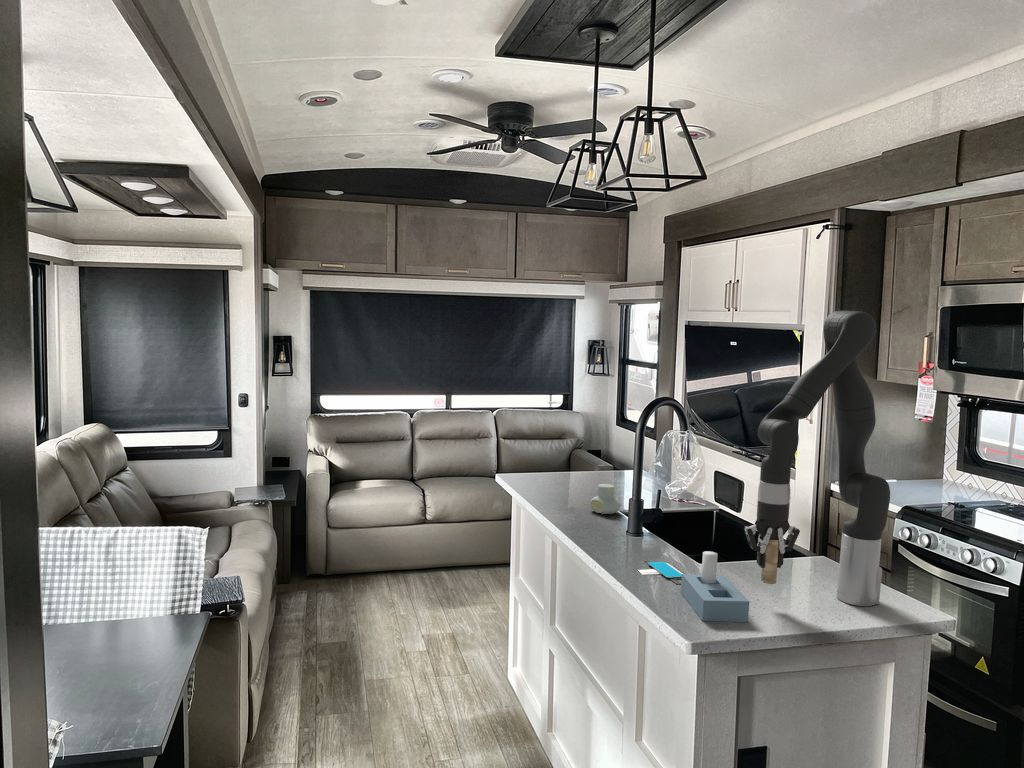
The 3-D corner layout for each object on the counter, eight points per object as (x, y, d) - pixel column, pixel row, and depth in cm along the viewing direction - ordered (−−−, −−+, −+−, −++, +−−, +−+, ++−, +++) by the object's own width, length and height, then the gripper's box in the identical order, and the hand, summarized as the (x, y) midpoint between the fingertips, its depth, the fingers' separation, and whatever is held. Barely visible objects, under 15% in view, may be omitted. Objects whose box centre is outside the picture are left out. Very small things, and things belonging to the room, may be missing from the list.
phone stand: (624, 562, 219) (625, 557, 219) (661, 561, 222) (662, 555, 222) (656, 587, 200) (656, 581, 200) (696, 585, 203) (696, 579, 203)
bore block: (722, 593, 196) (725, 548, 195) (747, 621, 178) (751, 572, 177) (680, 592, 196) (683, 547, 194) (702, 621, 178) (705, 571, 177)
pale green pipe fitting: (623, 515, 270) (625, 487, 269) (607, 517, 265) (608, 489, 264) (602, 507, 279) (604, 481, 278) (585, 510, 274) (587, 483, 273)
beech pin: (772, 579, 191) (775, 536, 190) (778, 584, 187) (781, 541, 186) (758, 578, 191) (761, 536, 190) (764, 584, 187) (767, 540, 186)
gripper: (795, 495, 191) (790, 562, 193) (740, 495, 190) (736, 561, 192) (808, 503, 184) (803, 572, 185) (751, 502, 183) (747, 572, 184)
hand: (769, 566), depth 189 cm, fingers closed on beech pin, 3 cm apart
